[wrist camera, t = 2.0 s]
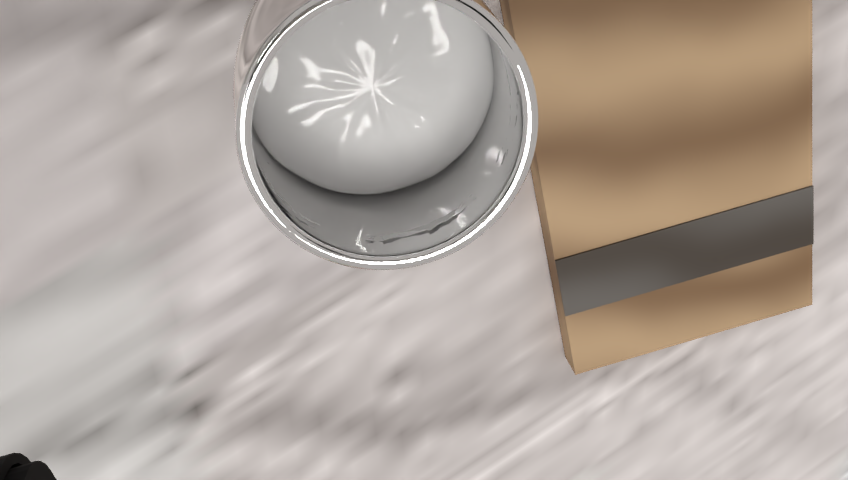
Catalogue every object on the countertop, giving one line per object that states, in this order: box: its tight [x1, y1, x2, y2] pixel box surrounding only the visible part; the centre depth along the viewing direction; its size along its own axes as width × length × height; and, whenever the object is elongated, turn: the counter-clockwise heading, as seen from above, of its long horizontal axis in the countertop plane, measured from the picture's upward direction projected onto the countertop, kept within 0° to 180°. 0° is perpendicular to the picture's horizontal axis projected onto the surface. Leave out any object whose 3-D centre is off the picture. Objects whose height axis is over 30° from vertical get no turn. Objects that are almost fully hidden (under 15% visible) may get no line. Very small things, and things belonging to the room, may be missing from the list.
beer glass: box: [233, 0, 539, 270], centre depth 24 cm, size 7×7×15 cm
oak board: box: [500, 0, 813, 375], centre depth 34 cm, size 22×12×2 cm, turn 13°
